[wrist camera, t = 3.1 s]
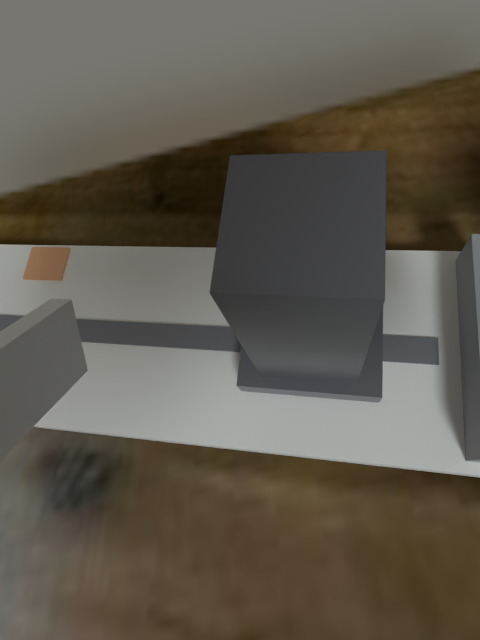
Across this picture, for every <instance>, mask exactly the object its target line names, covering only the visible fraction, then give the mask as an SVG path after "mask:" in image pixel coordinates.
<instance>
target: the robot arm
mask: <svg viewBox="0 0 480 640" xmlns="http://www.w3.org/2000/svg"><path fill="white" fill-rule="evenodd" d="M87 371H88V369H87V364H86V360H85V355H84V351H83V347H82V342H81V338H80V333H79V329H78V325H77V320H76V316H75V312H74V307H73V303H72V299H50V300H48V301H47V302H45V303H44V304H42V305H41V306H39V307H37V308H36V309H34V310H33V311H31V312H30V313H28V314H27V315H25V316H24V317H22V318H20V319H19V320H17V321H16V322H14V323H13V324H11V325H10V326H8V327H6V328H5V329H3V330H2V331H0V460H1V459H2V458H3V457H4V456H5V455H6V454H7V453H8V452H9V451H10V450H11V449H12V448H13V447H14V446H15V445H16V444H17V443H18V442H19V441H20V440H21V439H22V438H23V437H24V436H25V435H26V434H27V433H28V432H29V431H30V430H31V429H32V428H33V427H34V426H35V425H36V423H37V422H38V421H39V420H40V419H41V418H42V417H43V416H44V415H45V414H46V413H47V412H48V411H49V410H50V409H51V408H52V407H53V406H54V405H55V404H56V403H57V402H58V401H59V400H60V399H61V398H62V397H63V396H64V395H65V394H66V393H67V392H68V391H69V390H70V389H71V387H72V386H73V385H74V384H75V383H76V382H77V381H78V380H79V379H80V378H81V377H82V376H83V375H84V374H85V373H86V372H87Z"/></svg>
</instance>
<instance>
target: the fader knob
mask: <svg viewBox="0 0 480 640" xmlns="http://www.w3.org/2000/svg"><path fill="white" fill-rule="evenodd" d="M385 253H386V151H357V152H325V153H292V154H259V155H230V159H229V165H228V172H227V179H226V185H225V192H224V199H223V205H222V212H221V219H220V225H219V232H218V239H217V245H216V252H215V259H214V265H213V272H212V279H211V285H210V292H209V293H210V295H211V296H212V298H213V299H214V301H215V303H216V304H217V306H218V308H219V309H220V311H221V312H222V314H223V316H224V317H225V319H226V321H227V322H228V324H229V325H230V327H231V329H232V330H233V332H234V334H235V335H236V337H237V339H238V340H239V342H240V343H241V352H240V360H239V368H238V377H237V385H236V386H237V387H238V388H239V389H240V390H241V391H246V392H258V393H270V394H282V395H294V396H306V397H317V398H329V399H341V400H353V401H365V402H377V403H379V402H380V400H381V399H382V380H383V304H384V301H385Z"/></svg>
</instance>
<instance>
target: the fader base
mask: <svg viewBox="0 0 480 640" xmlns="http://www.w3.org/2000/svg"><path fill="white" fill-rule="evenodd" d="M215 252H216V248H206V247H138V246H69V245H0V331H2V330H3V329H5V328H6V327H8V326H10V325H11V324H13V323H14V322H16V321H17V320H19V319H20V318H22V317H24V316H25V315H27V314H28V313H30V312H31V311H33V310H34V309H36V308H37V307H39V306H41V305H42V304H44V303H45V302H47V301H48V300H50V299H72V303H73V307H74V312H75V316H76V320H77V325H78V329H79V333H80V338H81V342H82V347H83V351H84V355H85V360H86V364H87V369H88V371H87V372H86V373H85V374H84V375H83V376H82V377H81V378H80V379H79V380H78V381H77V382H76V383H75V384H74V385H73V386H72V387H71V389H70V390H69V391H68V392H67V393H66V394H65V395H64V396H63V397H62V398H61V399H60V400H59V401H58V402H57V403H56V404H55V405H54V406H53V407H52V408H51V409H50V410H49V411H48V412H47V413H46V414H45V415H44V416H43V417H42V418H41V419H40V420H39V421H38V422H37V423H36V425H35V426H34V427H38V428H47V429H55V430H64V431H73V432H82V433H91V434H100V435H109V436H118V437H126V438H135V439H144V440H153V441H162V442H171V443H180V444H188V445H197V446H206V447H215V448H224V449H233V450H242V451H251V452H259V453H268V454H277V455H286V456H295V457H304V458H313V459H321V460H330V461H339V462H348V463H357V464H366V465H375V466H384V467H392V468H401V469H410V470H419V471H428V472H437V473H446V474H454V475H463V476H472V477H480V234H471V236H470V237H469V239H468V241H467V242H466V244H465V246H464V247H463V249H462V251H413V250H386V253H385V301H384V304H383V380H382V399H381V400H380V402H379V403H377V402H365V401H353V400H341V399H329V398H317V397H306V396H294V395H282V394H270V393H258V392H246V391H241V390H240V389H239V388H238V387H237V386H236V385H237V377H238V368H239V360H240V352H241V343H240V342H239V340H238V339H237V337H236V335H235V334H234V332H233V330H232V329H231V327H230V325H229V324H228V322H227V321H226V319H225V317H224V316H223V314H222V312H221V311H220V309H219V308H218V306H217V304H216V303H215V301H214V299H213V298H212V296H211V295H210V293H209V292H210V285H211V279H212V272H213V265H214V259H215Z"/></svg>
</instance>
